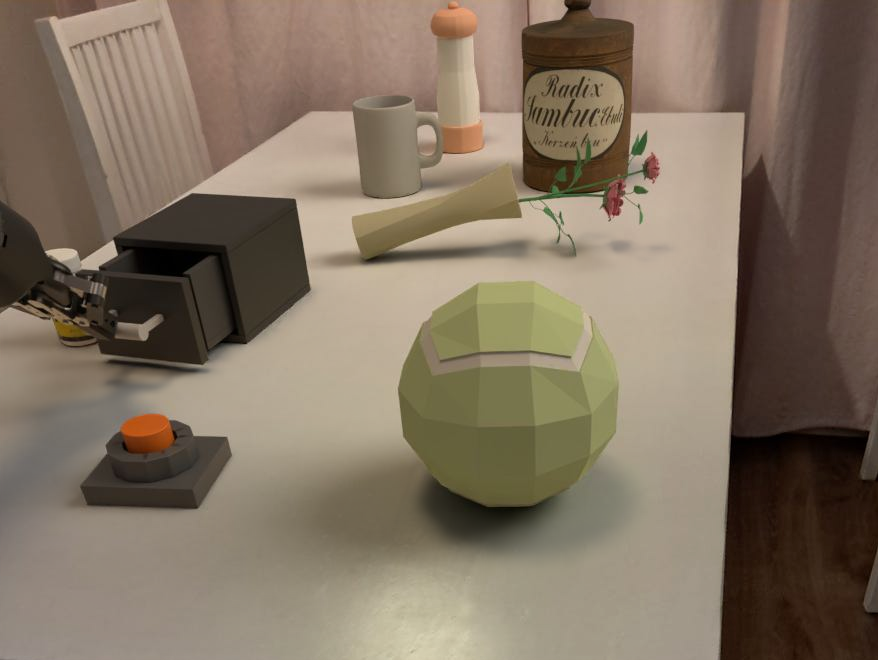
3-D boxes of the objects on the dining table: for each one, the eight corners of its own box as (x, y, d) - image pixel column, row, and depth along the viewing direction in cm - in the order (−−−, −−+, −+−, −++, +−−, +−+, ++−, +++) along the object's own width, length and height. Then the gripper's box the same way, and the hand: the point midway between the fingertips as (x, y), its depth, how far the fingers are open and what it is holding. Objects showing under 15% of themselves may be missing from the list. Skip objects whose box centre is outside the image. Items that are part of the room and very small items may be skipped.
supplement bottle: (59, 333, 97) (30, 251, 91) (106, 325, 98) (79, 243, 92) (61, 350, 93) (31, 266, 88) (109, 342, 94) (82, 258, 89)
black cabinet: (247, 343, 93) (225, 245, 86) (140, 332, 96) (112, 237, 90) (311, 289, 103) (295, 198, 97) (212, 281, 106) (191, 192, 100)
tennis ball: (603, 437, 75) (613, 248, 65) (617, 545, 64) (631, 336, 54) (421, 441, 76) (403, 255, 66) (403, 548, 65) (377, 343, 55)
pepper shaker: (428, 148, 147) (417, 3, 134) (462, 139, 150) (455, -4, 138) (458, 155, 142) (450, 7, 130) (492, 146, 146) (488, 0, 133)
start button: (119, 456, 70) (112, 435, 69) (138, 433, 73) (131, 412, 72) (164, 457, 70) (158, 436, 69) (181, 434, 73) (175, 413, 71)
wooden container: (515, 193, 126) (512, 0, 112) (530, 164, 137) (529, -16, 123) (624, 194, 124) (635, -4, 110) (630, 164, 135) (641, -20, 120)
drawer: (178, 384, 84) (154, 300, 79) (74, 372, 87) (45, 290, 82) (269, 310, 97) (254, 232, 91) (176, 301, 100) (156, 226, 94)
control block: (86, 505, 71) (71, 465, 69) (129, 452, 77) (116, 414, 75) (198, 508, 70) (186, 468, 68) (232, 454, 76) (222, 416, 74)
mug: (359, 199, 128) (348, 110, 120) (364, 182, 134) (354, 96, 127) (445, 195, 127) (439, 105, 120) (447, 178, 134) (441, 91, 126)
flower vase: (388, 309, 117) (661, 229, 112) (374, 317, 106) (676, 229, 101) (358, 210, 112) (641, 122, 107) (340, 208, 101) (655, 110, 96)
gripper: (-129, 276, 67) (40, 363, 84) (19, 290, 64) (164, 377, 81) (-107, 177, 68) (57, 283, 84) (41, 186, 64) (181, 294, 81)
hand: (109, 329), depth 83 cm, fingers closed
